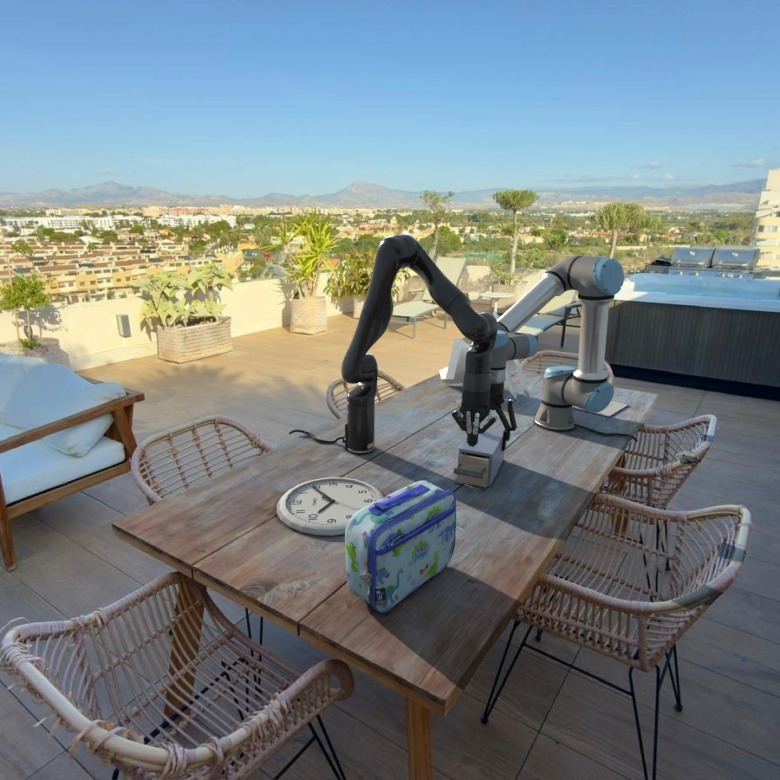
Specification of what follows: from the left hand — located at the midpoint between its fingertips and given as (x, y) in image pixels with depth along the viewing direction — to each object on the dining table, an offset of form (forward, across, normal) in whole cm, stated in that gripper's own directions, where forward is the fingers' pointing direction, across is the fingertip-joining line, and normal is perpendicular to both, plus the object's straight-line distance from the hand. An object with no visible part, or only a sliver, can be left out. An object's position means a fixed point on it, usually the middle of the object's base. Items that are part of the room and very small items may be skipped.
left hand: (472, 445), depth 147 cm
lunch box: (+15, -3, -46) cm, 48 cm away
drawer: (+14, 0, +9) cm, 17 cm away
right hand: (+9, 0, +22) cm, 24 cm away
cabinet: (+14, 0, +16) cm, 21 cm away
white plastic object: (+14, -20, +96) cm, 99 cm away
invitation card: (+14, +33, +98) cm, 105 cm away
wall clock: (+14, -32, -23) cm, 42 cm away
